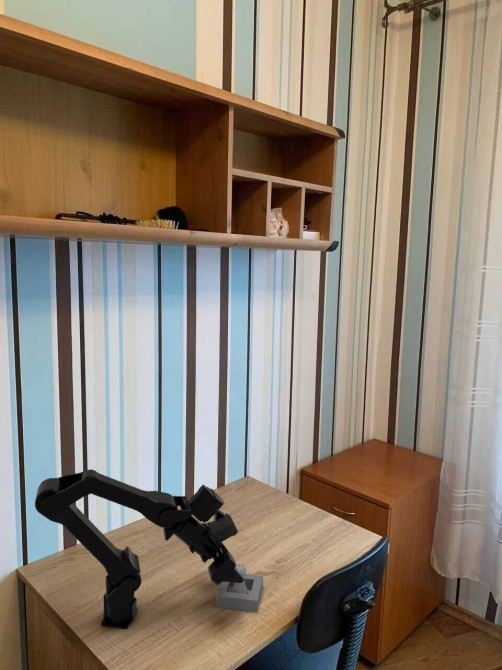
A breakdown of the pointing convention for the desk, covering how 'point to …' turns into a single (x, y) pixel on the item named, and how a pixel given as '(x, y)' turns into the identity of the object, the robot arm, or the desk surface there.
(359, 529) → the desk surface
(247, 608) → the hollow square block
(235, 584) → the rook chess piece
